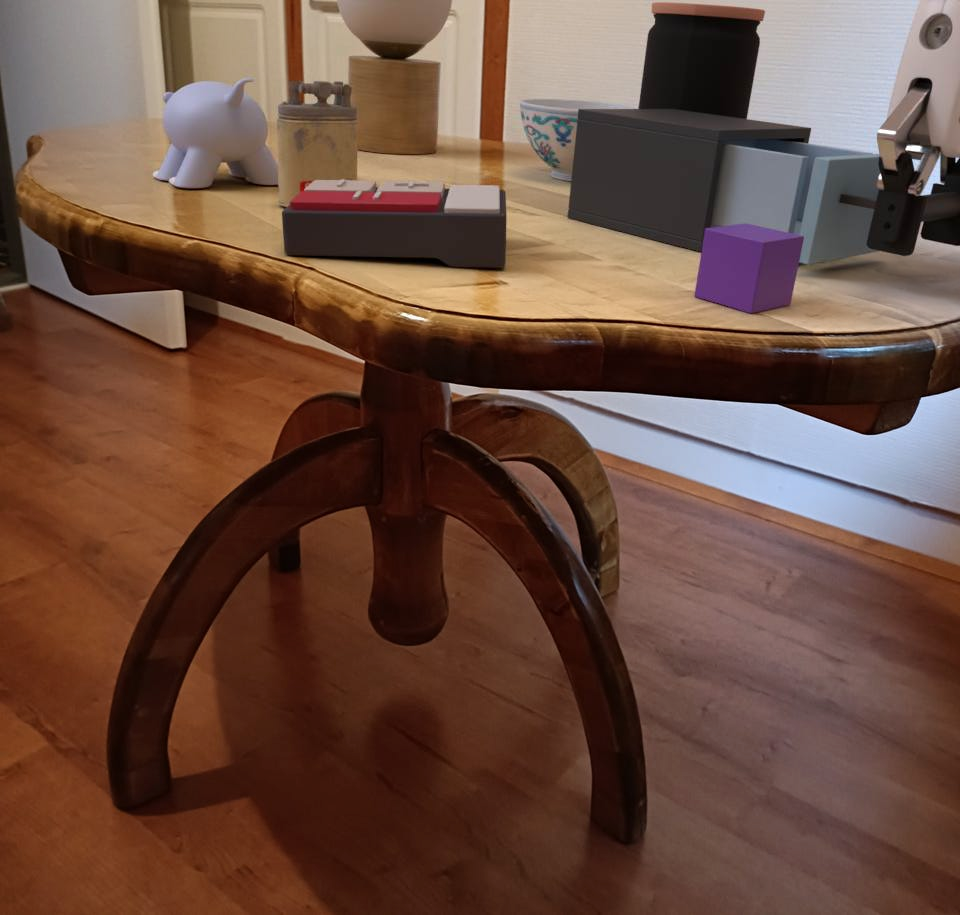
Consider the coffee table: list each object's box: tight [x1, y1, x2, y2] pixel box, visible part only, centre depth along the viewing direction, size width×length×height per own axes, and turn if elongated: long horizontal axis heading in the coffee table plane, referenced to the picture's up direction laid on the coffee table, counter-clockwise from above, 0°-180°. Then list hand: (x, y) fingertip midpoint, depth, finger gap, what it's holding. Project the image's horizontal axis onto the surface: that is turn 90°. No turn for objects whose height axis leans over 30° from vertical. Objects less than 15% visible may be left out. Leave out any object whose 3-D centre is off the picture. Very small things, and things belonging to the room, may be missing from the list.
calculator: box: [281, 179, 508, 269], centre depth 69 cm, size 11×4×15 cm
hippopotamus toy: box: [152, 77, 278, 189], centre depth 89 cm, size 11×15×10 cm
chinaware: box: [519, 98, 639, 182], centre depth 106 cm, size 15×15×8 cm
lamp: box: [336, 0, 453, 155], centre depth 118 cm, size 15×14×25 cm
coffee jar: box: [638, 1, 766, 119], centre depth 95 cm, size 11×11×18 cm
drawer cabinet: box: [567, 109, 812, 253], centre depth 82 cm, size 15×13×9 cm
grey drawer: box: [710, 139, 960, 265], centre depth 73 cm, size 19×11×7 cm, turn 41°
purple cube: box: [694, 223, 804, 314], centre depth 61 cm, size 4×4×4 cm
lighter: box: [276, 80, 358, 208], centre depth 80 cm, size 7×4×10 cm, turn 125°
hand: (916, 245), depth 68 cm, fingers closed on grey drawer, 7 cm apart
